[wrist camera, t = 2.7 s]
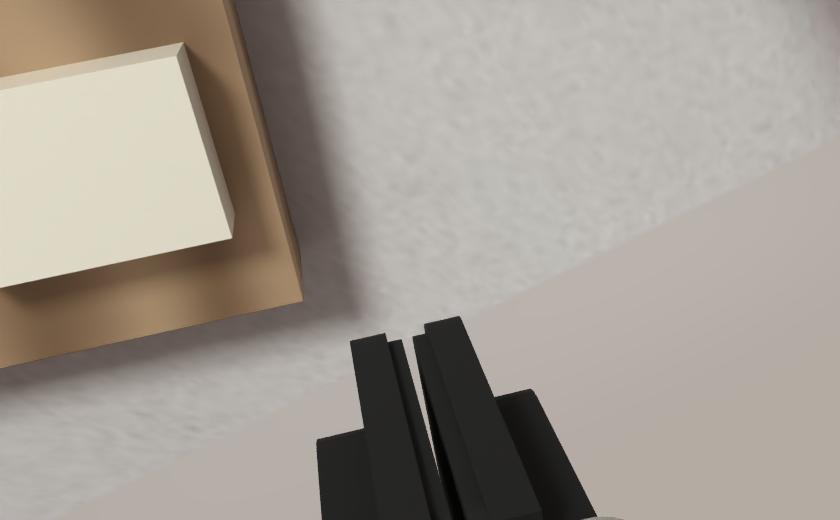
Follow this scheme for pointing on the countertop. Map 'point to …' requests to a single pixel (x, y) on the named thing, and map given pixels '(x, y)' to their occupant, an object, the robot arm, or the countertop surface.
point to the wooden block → (239, 159)
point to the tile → (106, 165)
